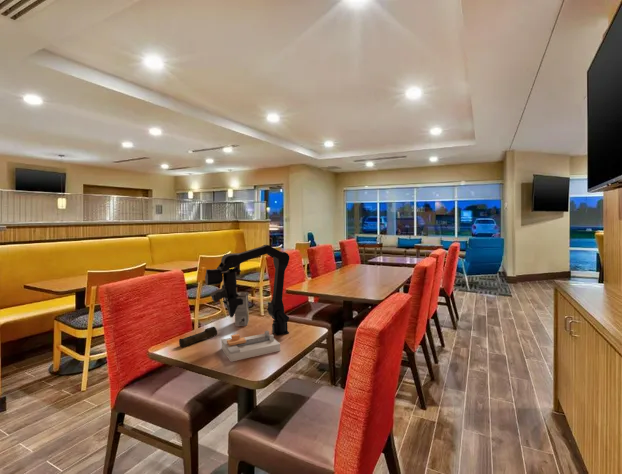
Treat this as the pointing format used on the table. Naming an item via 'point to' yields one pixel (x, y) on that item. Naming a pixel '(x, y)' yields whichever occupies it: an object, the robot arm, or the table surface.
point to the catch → (236, 340)
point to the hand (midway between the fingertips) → (231, 316)
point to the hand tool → (198, 336)
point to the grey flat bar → (254, 341)
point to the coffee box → (242, 310)
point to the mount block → (250, 348)
